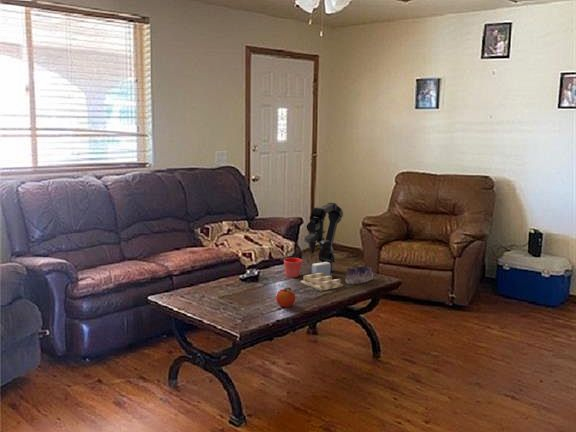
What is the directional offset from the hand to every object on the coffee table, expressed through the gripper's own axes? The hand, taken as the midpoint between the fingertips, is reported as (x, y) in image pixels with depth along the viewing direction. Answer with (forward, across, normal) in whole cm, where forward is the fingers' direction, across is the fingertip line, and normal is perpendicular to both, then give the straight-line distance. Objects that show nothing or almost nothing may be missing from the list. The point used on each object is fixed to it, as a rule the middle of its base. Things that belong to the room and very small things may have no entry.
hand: (317, 255), depth 348 cm
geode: (+13, +19, +16) cm, 28 cm away
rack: (+13, +14, -7) cm, 20 cm away
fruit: (+12, +35, -47) cm, 59 cm away
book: (+13, +1, +2) cm, 13 cm away
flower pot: (+13, -8, -12) cm, 19 cm away
